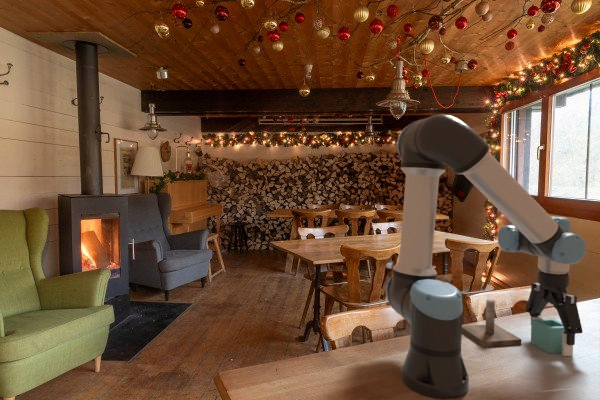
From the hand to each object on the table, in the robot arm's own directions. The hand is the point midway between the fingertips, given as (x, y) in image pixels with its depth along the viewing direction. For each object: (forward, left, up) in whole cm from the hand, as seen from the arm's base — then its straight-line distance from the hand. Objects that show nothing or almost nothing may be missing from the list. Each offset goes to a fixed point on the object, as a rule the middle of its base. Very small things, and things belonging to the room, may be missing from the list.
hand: (550, 346), depth 113 cm
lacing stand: (-13, +9, 0) cm, 16 cm away
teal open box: (0, 0, 0) cm, 0 cm away
